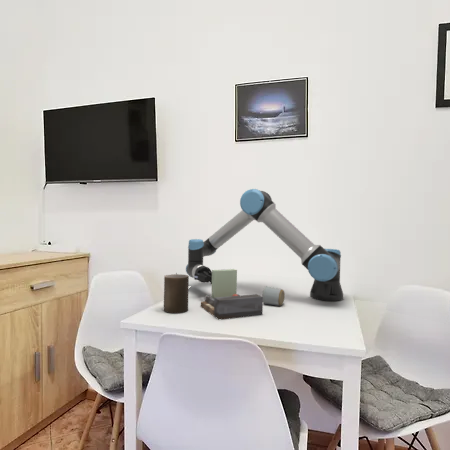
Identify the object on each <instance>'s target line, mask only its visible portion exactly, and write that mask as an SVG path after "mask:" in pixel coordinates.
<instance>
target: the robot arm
mask: <svg viewBox="0 0 450 450" xmlns="http://www.w3.org/2000/svg"><path fill="white" fill-rule="evenodd" d="M239 205H240V209H241V210H240V211H239V212H238V213H237V214H236V215H234V216H233V217H232V218H231V219H230V220H228V222H226V223H225V224H224V225H223V226H221V227H220V228H218V230H217V231H215V232H214V233H212V235H210V236H209V237H208V238H206V239H205V240H203V239H200V238H199V239H197V238H191V239H188V247H187V249H188V250H187V251H188V252H187V254H188V256H187V257H188V258H187V265H186V266H185V272H186V275H188V276H189V277H190V278H193V280H195V281H198V282H200V283H207V284H208V283H210V285H212V269H210V267H209V266H206V265H204V257H208V256H209V257H210V256H212V255H214V254H215V253H216V252H217V250H218V249H219V248H221V246H223V245H224V244H226V243H227V242H228V241H229V240H230V239H232V238H233V237H234V236H236V234H238V233H239V232H241V231H242V230H244V228H245V227H247V226H249V225H250V223H252V222H253V221H256V222H257V223H263V224H264V226H266V227H267V228H268V229H269V230H271V232H273V234H274V235H276V236H277V237H278V238H279V240H281V241H282V242H283V243H284V245H286V246H287V247H288V248H289V249H290V250H291V251H292V252H294V253H295V255H297V256H298V258H300V261H301V265H302V266H303V267H304V268H305V269H306V270H307V272H308V273H309V275H310V276H311V278H313V283H312V286H311V289H310V292H309V296H310V298H311V299H314V300H318V301H325V302H326V301H327V302H339V301H343V300H344V292H343V287H342V284H341V258H342V255H341V250H339V249H336V248H335V249H334V248H324V247H323V246H321V244H314V242H312V241H311V240H310V239H309V238H308V237H307V236H306V235H305V234H304V233H303V232H302V231H300V229H299V228H297V227H296V226H295V225H294V224H293V223H292V222H290V220H289V219H287V217H286V216H284V215H283V214H282V213H281V212H280V211H279V210H278V209H277V207H276V203H275V202H274V201H273V199H272V197H271V195H270V194H269V193H268V192H266V191H264V190H259V189H258V188H257V189H256V188H252V189H251V188H250V189H247V190H245V192H243V193H242V195H241V196H240V200H239Z"/></svg>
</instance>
